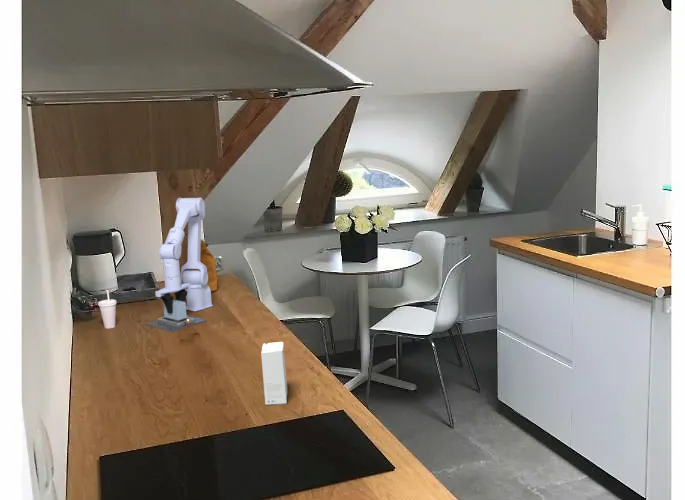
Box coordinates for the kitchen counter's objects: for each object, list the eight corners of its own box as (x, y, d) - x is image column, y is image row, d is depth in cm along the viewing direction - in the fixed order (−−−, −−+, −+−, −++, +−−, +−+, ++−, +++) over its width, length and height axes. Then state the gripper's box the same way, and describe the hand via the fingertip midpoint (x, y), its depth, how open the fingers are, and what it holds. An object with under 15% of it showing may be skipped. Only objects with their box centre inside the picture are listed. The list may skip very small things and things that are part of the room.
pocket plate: (179, 314, 270) (179, 307, 269) (206, 320, 260) (206, 313, 259) (145, 324, 257) (144, 317, 257) (172, 332, 247) (171, 324, 247)
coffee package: (215, 285, 312) (211, 237, 308) (219, 292, 300) (216, 242, 296) (192, 288, 309) (189, 239, 305) (196, 294, 297) (192, 244, 293)
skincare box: (286, 404, 183) (284, 350, 180) (263, 405, 183) (260, 352, 180) (287, 392, 191) (284, 340, 188) (265, 393, 191) (262, 341, 188)
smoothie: (115, 329, 253) (111, 292, 250) (98, 329, 253) (94, 292, 250) (121, 324, 259) (117, 287, 256) (104, 324, 259) (100, 288, 257)
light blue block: (186, 317, 257) (185, 302, 256) (178, 320, 254) (176, 304, 253) (173, 314, 262) (171, 299, 261) (164, 316, 259) (163, 301, 258)
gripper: (181, 270, 263) (184, 305, 266) (149, 278, 252) (152, 314, 255) (193, 272, 259) (195, 308, 261) (161, 281, 248) (164, 317, 250)
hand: (175, 311), depth 258 cm, fingers closed on light blue block, 4 cm apart
